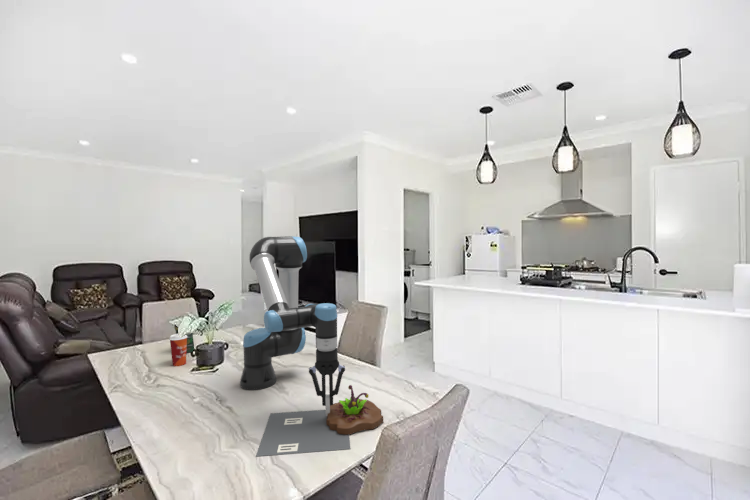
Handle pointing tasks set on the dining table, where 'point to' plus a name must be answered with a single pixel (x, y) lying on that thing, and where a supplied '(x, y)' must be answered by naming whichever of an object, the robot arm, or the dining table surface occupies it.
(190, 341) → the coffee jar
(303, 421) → the label mat
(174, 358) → the coffee cup
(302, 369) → the dining table surface
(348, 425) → the plant
